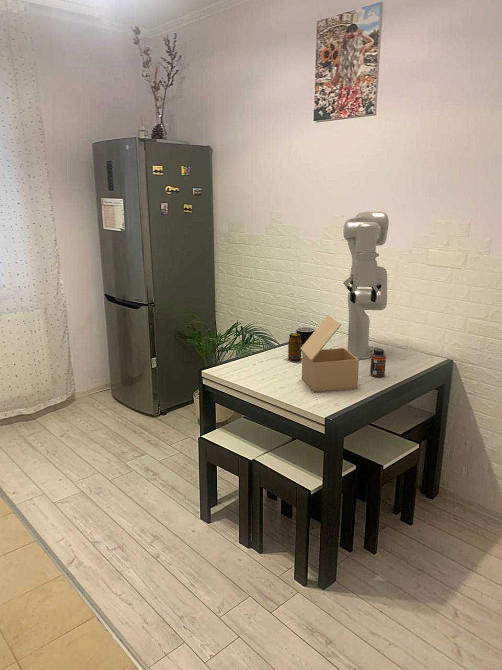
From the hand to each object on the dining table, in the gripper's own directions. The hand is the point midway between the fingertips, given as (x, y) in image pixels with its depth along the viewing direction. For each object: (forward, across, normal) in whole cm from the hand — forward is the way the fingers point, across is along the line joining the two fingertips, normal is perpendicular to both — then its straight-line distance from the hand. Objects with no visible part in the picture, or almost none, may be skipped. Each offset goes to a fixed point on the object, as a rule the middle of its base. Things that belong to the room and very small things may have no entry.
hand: (363, 301), depth 200 cm
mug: (+33, +8, -48) cm, 59 cm away
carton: (+33, +13, 0) cm, 35 cm away
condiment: (+33, +18, -32) cm, 49 cm away
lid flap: (+13, +17, 0) cm, 22 cm away
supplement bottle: (+33, -10, -5) cm, 35 cm away
